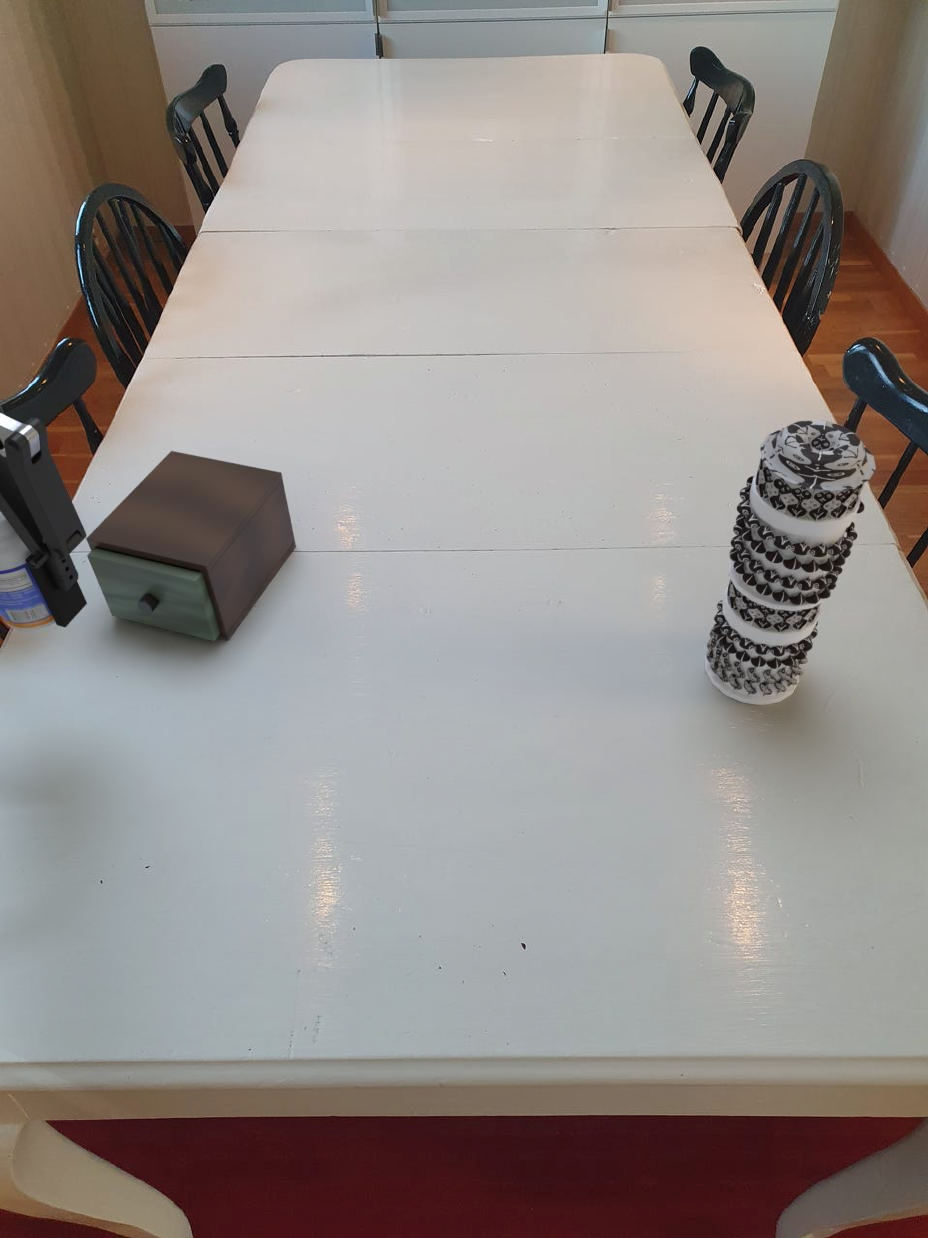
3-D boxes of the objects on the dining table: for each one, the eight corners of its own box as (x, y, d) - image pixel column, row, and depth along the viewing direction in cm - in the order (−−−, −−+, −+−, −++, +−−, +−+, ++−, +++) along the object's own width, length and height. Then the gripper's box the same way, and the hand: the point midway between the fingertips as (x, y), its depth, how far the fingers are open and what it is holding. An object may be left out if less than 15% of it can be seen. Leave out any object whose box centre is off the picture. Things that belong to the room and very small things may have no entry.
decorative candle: (710, 622, 87) (766, 394, 69) (809, 648, 85) (894, 417, 67) (689, 690, 81) (744, 459, 64) (795, 720, 79) (883, 488, 61)
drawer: (208, 650, 85) (188, 589, 79) (104, 624, 88) (78, 563, 82) (280, 552, 94) (266, 491, 89) (184, 531, 97) (166, 471, 92)
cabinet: (228, 640, 87) (206, 566, 80) (116, 612, 90) (85, 538, 83) (296, 546, 97) (281, 472, 90) (193, 523, 100) (171, 450, 93)
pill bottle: (41, 576, 72) (-7, 476, 65) (91, 597, 70) (47, 496, 63) (-13, 619, 69) (-70, 518, 62) (37, 643, 67) (-16, 541, 60)
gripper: (69, 312, 53) (169, 598, 69) (-175, 273, 57) (-26, 550, 74) (-18, 377, 48) (112, 668, 64) (-278, 328, 52) (-94, 612, 69)
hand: (38, 605), depth 69 cm, fingers closed on pill bottle, 5 cm apart
